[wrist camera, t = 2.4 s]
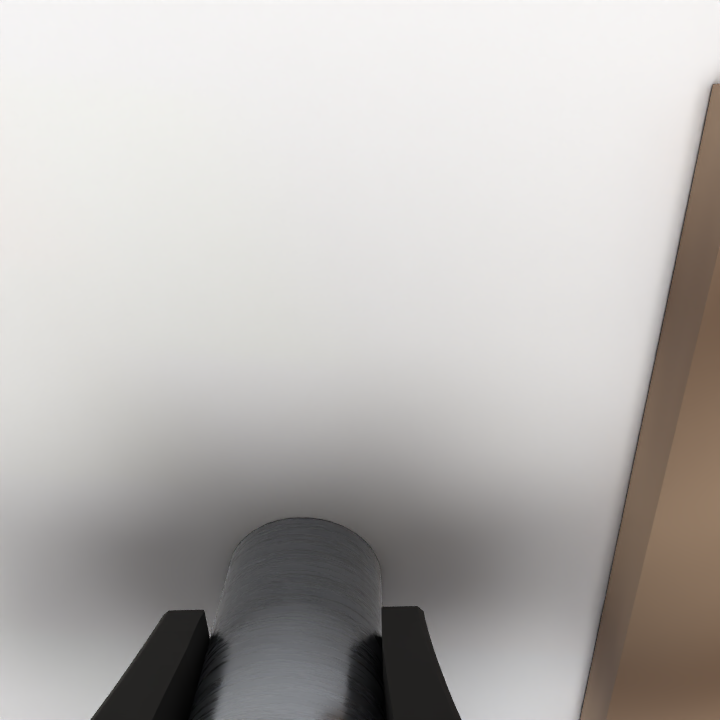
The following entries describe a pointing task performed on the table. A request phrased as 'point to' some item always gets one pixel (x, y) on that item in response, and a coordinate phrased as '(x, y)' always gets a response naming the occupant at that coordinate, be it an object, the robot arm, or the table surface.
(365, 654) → the pin
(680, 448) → the board
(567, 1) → the table surface
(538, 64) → the table surface
